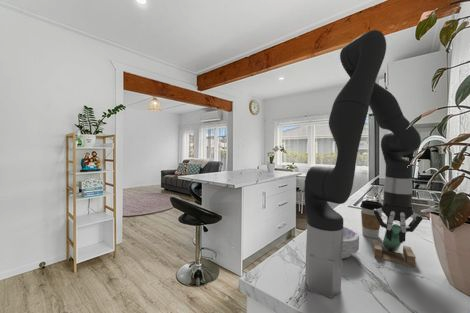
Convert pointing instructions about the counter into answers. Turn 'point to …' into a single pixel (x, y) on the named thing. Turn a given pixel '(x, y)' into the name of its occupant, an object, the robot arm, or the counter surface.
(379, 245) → the cradle
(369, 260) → the counter surface
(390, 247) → the bottle
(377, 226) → the coffee cup
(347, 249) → the paper bowls
